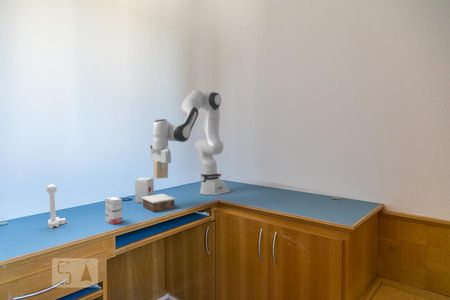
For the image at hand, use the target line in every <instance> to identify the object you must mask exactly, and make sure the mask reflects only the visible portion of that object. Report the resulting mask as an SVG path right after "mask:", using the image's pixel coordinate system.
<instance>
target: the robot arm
mask: <svg viewBox="0 0 450 300" xmlns="http://www.w3.org/2000/svg"><path fill="white" fill-rule="evenodd" d="M181 103H182V104H181V107H180V108H181V112H183V114H184V115H185V116H186V117H185V119H184V121H183V123H181V124H178V125H177V124H175V125H174V124H171V122H169V121H168V119H164V118H162V119H156V120H154V122H153V125H152V136H153V140H152V144H151V145H150V146H149V149H150V160H151V162H154V161H160V163H162V167H161V170H165V166H166V163H168V164H171V163H172V154H171V150H170V148H169V142H180V143H185V142H187V141H188V140H189V139H190V136H191V132H192V129H193V127H194V125H195V123H196V121H197V119H198V116H199V109H203V110H205V111H204V118H203V126H202V130H203V132H204V134H205V138H202V139H198V140H196V142H195V144H194V149H195V151H196V152H197V154H198V156H199V157H198V158H199V160H200V164H201V165H200V166H201V169H200V170H201V174H200V182H201V184H200V190H199V194H200V195H205V196H206V195H207V196H213V195H214V196H218V195H222V194H226V193H229V192H231V191H230V189H228V188H227V184H226V182H225V181H223V180H222V179H221V178H220V177H222V173H218V167H217V166H218V165H217V162H216V159H214V156H213V155H215V156H216V155H219V154H220V155H221V154H222V152H223V151H224V143H223V142H222V140H221V137H220V134H219V131H220V129H219V128H220V118H221V117H220V116H221V115H220V106H221V104H222V97H221V95H220V94H219V92H215V91H213V92H211V91H210V92H207V91H205V92H203V91H201V90H198V89H193V90H192V91H191V92H190V93H189V94H188V95H187V96H186V97H185V99H184V100H183V101H182V102H181Z"/></svg>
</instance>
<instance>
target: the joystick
mask: <svg viewBox="0 0 450 300" xmlns="http://www.w3.org/2000/svg"><path fill="white" fill-rule="evenodd" d="M45 189H46V192H47V193H48V195H49V207H50V208H49V213H50V218H49V219H48V220H47V227H48V228H49V229H51V230H52V229H54V227H56V228H57V227H59V226H61V225H65V224H66V223H67V219H66V218H65V217H63V218H62V217H61V218H60V216H57V214H56V211H57V210H56V199H55V193H56V192H57V190H58V187H57V185H56V184H49V185H47V186H46V188H45Z"/></svg>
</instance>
